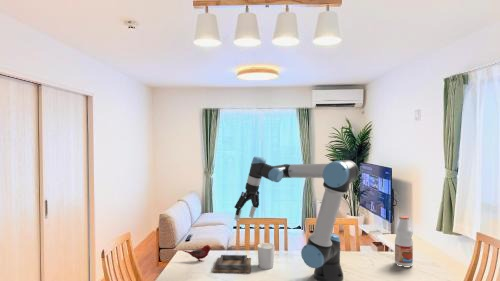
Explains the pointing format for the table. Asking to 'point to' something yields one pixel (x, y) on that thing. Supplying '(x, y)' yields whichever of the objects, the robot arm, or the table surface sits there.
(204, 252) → the decorative bird figurine
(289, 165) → the robot arm
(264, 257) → the candle holder
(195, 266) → the table surface
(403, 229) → the fruit juice
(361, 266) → the table surface
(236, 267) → the brown square wooden tray
